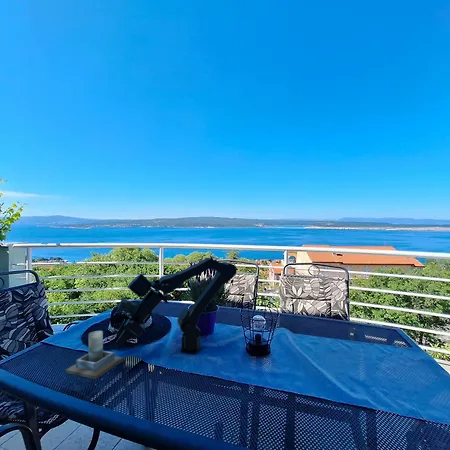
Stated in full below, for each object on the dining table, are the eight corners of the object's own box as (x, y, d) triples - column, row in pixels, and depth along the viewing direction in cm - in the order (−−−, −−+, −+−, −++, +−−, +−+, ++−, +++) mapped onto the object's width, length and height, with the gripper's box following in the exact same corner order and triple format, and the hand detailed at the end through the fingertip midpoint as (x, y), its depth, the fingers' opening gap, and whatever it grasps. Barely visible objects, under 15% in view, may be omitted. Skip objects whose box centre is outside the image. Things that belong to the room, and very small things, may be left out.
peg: (104, 359, 98) (104, 330, 98) (100, 366, 93) (100, 335, 93) (91, 360, 97) (91, 331, 97) (86, 366, 93) (86, 336, 93)
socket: (123, 360, 99) (123, 350, 99) (95, 379, 87) (95, 368, 87) (96, 355, 104) (95, 346, 104) (65, 372, 91) (65, 362, 91)
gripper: (131, 285, 108) (101, 317, 104) (132, 296, 91) (96, 335, 87) (152, 303, 111) (123, 334, 107) (157, 317, 93) (123, 355, 90)
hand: (116, 339), depth 98 cm, fingers open, 9 cm apart
